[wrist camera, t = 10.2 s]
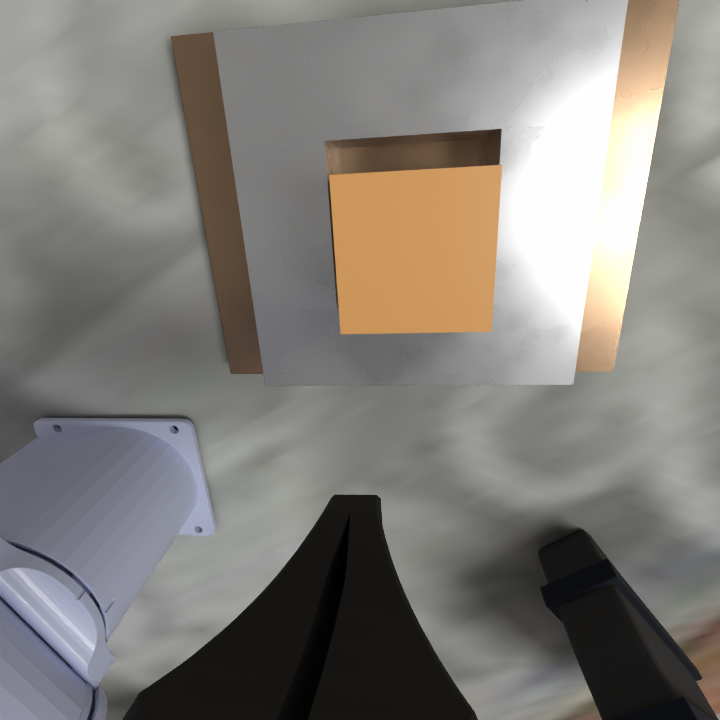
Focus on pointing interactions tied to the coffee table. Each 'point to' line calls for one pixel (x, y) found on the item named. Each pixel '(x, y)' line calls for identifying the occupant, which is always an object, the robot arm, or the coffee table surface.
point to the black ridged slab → (618, 638)
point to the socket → (429, 151)
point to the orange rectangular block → (416, 249)
